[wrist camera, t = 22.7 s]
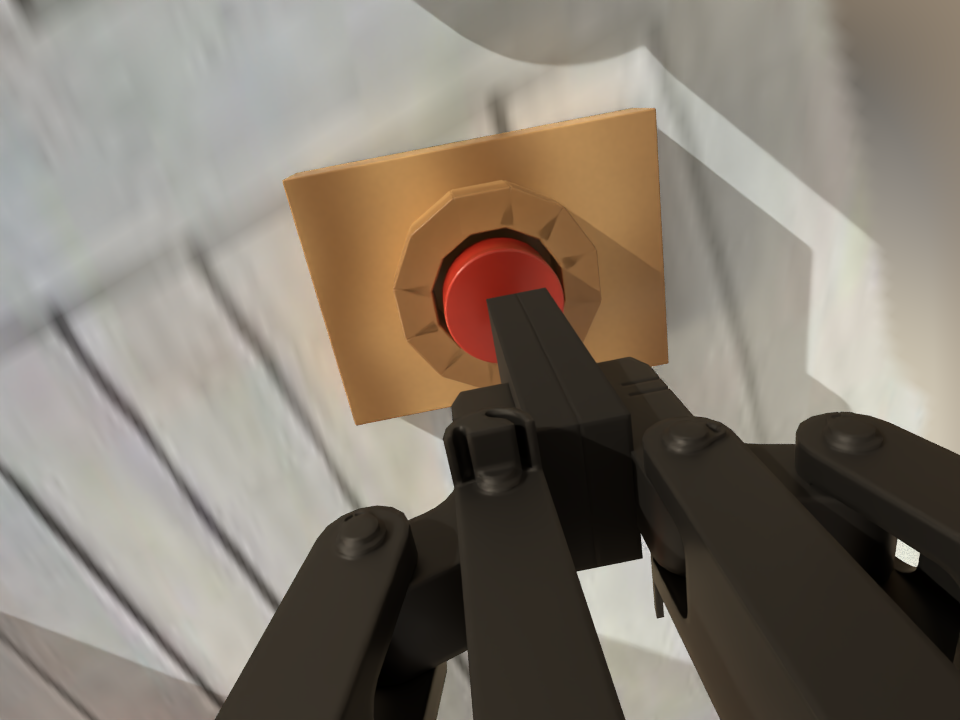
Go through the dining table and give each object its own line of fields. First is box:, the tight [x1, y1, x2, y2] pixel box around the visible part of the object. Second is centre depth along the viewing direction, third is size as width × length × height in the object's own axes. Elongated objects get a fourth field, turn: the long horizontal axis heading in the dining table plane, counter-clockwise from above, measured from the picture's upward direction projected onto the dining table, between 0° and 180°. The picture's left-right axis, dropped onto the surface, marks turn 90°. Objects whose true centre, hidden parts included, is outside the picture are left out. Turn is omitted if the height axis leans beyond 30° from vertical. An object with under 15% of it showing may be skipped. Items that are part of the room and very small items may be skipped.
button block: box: [283, 108, 668, 425], centre depth 21 cm, size 12×9×4 cm
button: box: [442, 237, 564, 364], centre depth 18 cm, size 4×4×2 cm
